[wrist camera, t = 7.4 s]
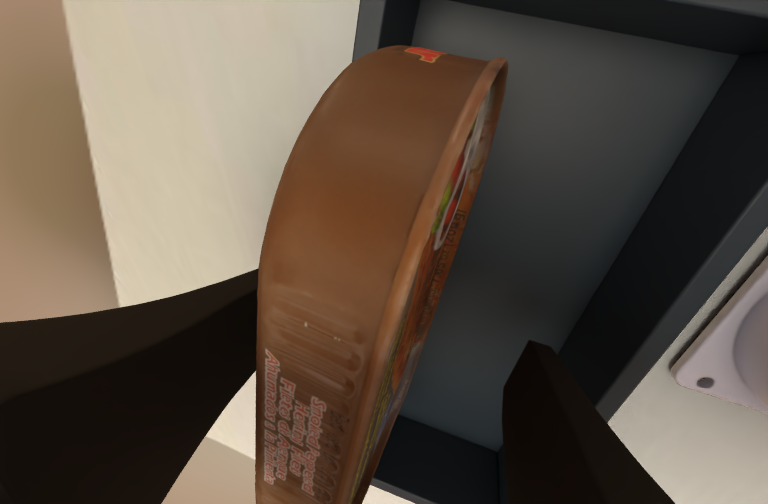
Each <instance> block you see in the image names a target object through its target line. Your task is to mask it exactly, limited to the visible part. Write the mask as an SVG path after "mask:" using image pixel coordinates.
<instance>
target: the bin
mask: <svg viewBox="0 0 768 504" xmlns="http://www.w3.org/2000/svg"><path fill="white" fill-rule="evenodd" d="M396 45H404V46H412V47H421V48H426V49H430V50H434V51H439V52H443V53H448V54H452V55H456V56H461V57H467V58H473V59H478V60H484V61H491V60H493V59H495V58H504V59H506V60H507V61H508V64H509V66H508V67H509V68H508V74H507V79H506V88H505V93H504V98H503V102H502V106H501V112H500V115H499V118H498V122H497V127H496V130H495V134H494V137H493V141H492V144H491V148H490V151H489V154H488V158H487V161H486V164H485V167H484V170H483V172H482V176H481V179H480V182H479V186H478V190H477V192H476V195H475V198H474V201H473V204H472V207H471V210H470V213H469V216H468V219H467V222H466V225H465V228H464V231H463V234H462V236H461V239H460V242H459V245H458V248H457V251H456V254H455V256H454V259H453V262H452V265H451V268H450V271H449V274H448V277H447V279H446V282H445V285H444V288H443V291H442V294H441V297H440V299H439V303H438V306H437V308H436V311H435V314H434V317H433V320H432V323H431V326H430V329H429V331H428V335H427V337H426V340H425V343H424V346H423V349H422V351H421V354H420V356H419V359H418V363H417V366H416V369H415V372H414V374H413V377H412V380H411V383H410V386H409V388H408V391H407V394H406V396H405V399H404V401H403V403H402V406H401V408H400V410H399V413H398V415H397V418H396V420H395V422H394V425H393V427H392V430H391V432H390V435H389V437H388V440H387V443H386V445H385V448H384V450H383V453H382V456H381V458H380V461H379V463H378V466H377V468H376V470H375V473H374V476H373V478H372V481H371V483H370V485H372V486H375V487H377V488H379V489H382V490H384V491H387V492H389V493H391V494H394V495H396V496H399V497H401V498H404V499H406V500H408V501H411V502H413V503H416V504H508V494H507V482H506V470H505V458H504V446H503V433H502V401H503V387H504V385H505V383H506V381H507V380H508V378H509V376H510V374H511V372H512V370H513V368H514V367H515V365H516V363H517V361H518V359H519V357H520V355H521V354H522V352H523V350H524V348H525V346H526V344H527V342H528V341H529V340H532V341H535V342H538V343H542V344H545V345H548V346H551V348H552V349H553V350H554V351H555V353H556V354H557V355H558V357H559V358H560V359H561V361H562V362H563V364H564V365H565V366H566V368H567V369H568V371H569V372H570V374H571V375H572V376H573V378H574V379H575V381H576V382H577V383H578V385H579V386H580V388H581V389H582V390H583V392H584V393H585V395H586V396H587V397H588V399H589V400H590V401H591V403H592V404H593V406H594V407H595V408H596V410H597V411H598V412H599V414H600V415H601V416H602V418H603V419H604V420H605V421H606V423H607V422H608V421H609V420H610V419H611V417H612V416H613V415H614V414H615V412H616V411H617V410H618V409H619V408H620V406H621V405H622V404H623V403H624V401H625V400H626V399H627V398H628V397H629V395H630V394H631V393H632V392H633V390H634V389H635V388H636V387H637V385H638V384H639V383H640V382H641V381H642V379H643V378H644V377H645V376H646V374H647V373H648V372H649V371H650V370H651V368H652V367H653V366H654V365H655V363H656V362H657V361H658V360H659V359H660V357H661V356H662V355H663V354H664V352H665V351H666V350H667V349H668V347H669V346H670V345H671V344H672V343H673V341H674V340H675V339H676V338H677V336H678V335H679V334H680V333H681V332H682V330H683V329H684V328H685V327H686V325H687V324H688V323H689V322H690V320H691V319H692V318H693V317H694V316H695V314H696V313H697V312H698V311H699V309H700V308H701V307H702V306H703V305H704V303H705V302H706V301H707V300H708V298H709V297H710V296H711V295H712V294H713V292H714V291H715V290H716V289H717V287H718V286H719V285H720V284H721V282H722V281H723V280H724V279H725V278H726V276H727V275H728V274H729V273H730V271H731V270H732V269H733V268H734V267H735V265H736V264H737V263H738V262H739V260H740V259H741V258H742V257H743V256H744V254H745V253H746V252H747V251H748V249H749V248H750V247H751V246H752V244H753V243H754V242H755V241H756V240H757V238H758V237H759V236H760V235H761V233H762V232H763V231H764V230H765V229H766V227H767V226H768V0H360V5H359V13H358V21H357V28H356V36H355V43H354V51H353V59H352V62H354V61H355V60H357V59H359V58H360V57H362V56H364V55H366V54H368V53H370V52H372V51H375V50H378V49H381V48H385V47H389V46H396Z"/></svg>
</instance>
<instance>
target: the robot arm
mask: <svg viewBox="0 0 768 504" xmlns="http://www.w3.org/2000/svg"><path fill="white" fill-rule="evenodd" d="M258 272H259V269H256V270H253V271H250V272H248V273H245V274H242V275H239V276H236V277H233V278H231V279H228V280H225V281H222V282H219V283H216V284H212V285H209V286H206V287H203V288H200V289H196V290H193V291H190V292H187V293H183V294H180V295H176V296H172V297H168V298H164V299H160V300H155V301H151V302H147V303H142V304H137V305H132V306H126V307H121V308H116V309H110V310H104V311H98V312H93V313H86V314H79V315H72V316H64V317H56V318H48V319H47V318H46V319H38V320H28V321H17V322H3V323H0V504H161V503H162V502H163V500H164V498H165V497H166V495H167V493H168V492H169V491H170V489H171V487H172V485H173V484H174V483H175V481H176V479H177V478H178V476H179V475H180V473H181V472H182V470H183V469H184V467H185V466H186V464H187V462H188V461H189V460H190V458H191V457H192V455H193V454H194V452H195V450H196V449H197V447H198V446H199V444H200V443H201V441H202V440H203V439H204V437H205V436H206V434H207V433H208V431H209V430H210V428H211V427H212V426H213V424H214V423H215V421H216V420H217V418H218V417H219V415H220V414H221V413H222V411H223V410H224V408H225V407H226V406H227V405H228V403H229V402H230V401H231V399H232V398H233V397H234V396H235V394H236V393H237V392H238V391H239V390H240V389H241V387H242V386H243V385H244V384H245V383H246V381H247V380H248V379H249V378H250V377H251V376H252V374H253V373H254V372H255V371H256V363H257V362H256V354H257V351H256V345H257V303H258V300H257V290H258ZM671 375H672V377H673V379H674V380H675V381H676V383H677V384H679V385H681V386H683V387H686V388H689V389H693V390H696V391H699V392H702V393H705V394H708V395H711V396H714V397H717V398H720V399H723V400H727V401H730V402H733V403H736V404H739V405H742V406H745V407H748V408H751V409H754V410H758V411H761V412H764V413H767V414H768V256H767V257H766V258H765V259H764V260H763V262H762V263H761V264H760V265H759V266H758V267H757V269H756V270H755V271H754V272H753V273H752V274H751V276H750V277H749V278H748V279H747V280H746V281H745V283H744V284H743V285H742V286H741V287H740V288H739V290H738V291H737V292H736V293H735V294H734V295H733V297H732V298H731V299H730V300H729V301H728V302H727V304H726V305H725V306H724V307H723V308H722V309H721V311H720V312H719V313H718V314H717V315H716V317H715V318H714V319H713V320H712V321H711V322H710V324H709V325H708V326H707V327H706V328H705V329H704V331H703V332H702V333H701V334H700V335H699V336H698V338H697V339H696V340H695V341H694V342H693V343H692V345H691V346H690V347H689V348H688V349H687V350H686V352H685V353H684V354H683V355H682V356H681V357H680V359H679V360H678V361H677V362H676V363H675V364H674V366H673V367H672V369H671ZM705 377H707V378H705ZM701 378H705V379H704V380H699V379H701ZM502 433H503V446H504V458H505V470H506V482H507V494H508V504H675V503H674V502H673V500H672V499H671V498H670V497H669V496H668V495H667V494H666V493H665V492H664V490H663V489H662V488H661V487H660V486H659V485H658V484H657V483H656V482H655V481H654V479H653V478H652V477H651V476H650V475H649V474H648V473H647V472H646V470H645V469H644V468H643V467H642V466H641V465H640V463H639V462H638V461H637V460H636V459H635V458H634V456H633V455H632V454H631V453H630V452H629V450H628V449H627V448H626V447H625V445H624V444H623V443H622V442H621V440H620V439H619V438H618V437H617V435H616V434H615V433H614V432H613V430H612V429H611V428H610V427H609V425H608V424H607V423H606V421H605V420H604V419H603V418H602V416H601V415H600V414H599V412H598V411H597V410H596V408H595V407H594V406H593V404H592V403H591V401H590V400H589V399H588V397H587V396H586V395H585V393H584V392H583V390H582V389H581V388H580V386H579V385H578V383H577V382H576V381H575V379H574V378H573V376H572V375H571V374H570V372H569V371H568V369H567V368H566V366H565V365H564V364H563V362H562V361H561V359H560V358H559V357H558V355H557V354H556V353H555V351H554V350H553V349H552V348H551V346H548V345H545V344H542V343H538V342H535V341H532V340H529V341H528V342H527V344H526V346H525V348H524V350H523V352H522V354H521V355H520V357H519V359H518V361H517V363H516V365H515V367H514V368H513V370H512V372H511V374H510V376H509V378H508V380H507V381H506V383H505V385H504V387H503V401H502Z"/></svg>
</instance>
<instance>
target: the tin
mask: <svg viewBox="0 0 768 504" xmlns="http://www.w3.org/2000/svg"><path fill="white" fill-rule="evenodd" d="M508 66H509V64H508V61H507V60H506V59H504V58H495V59H493V60H491V61H484V60H478V59H473V58H467V57H461V56H456V55H452V54H448V53H443V52H439V51H434V50H430V49H426V48H421V47H412V46H404V45H396V46H389V47H385V48H381V49H378V50H375V51H372V52H370V53H368V54H366V55H364V56H362V57H360V58H359V59H357V60H355V61H354V62H352V63H351V64H350V65H349V66H348V67H347V68H346V69H344V70H343V71H342V73H341V74H340V75H339V76H338V77H337V78H336V79H335V81H334V82H333V83H332V84H331V85H330V86H329V88H328V89H327V90H326V91H325V93H324V94H323V95H322V97H321V99H320V100H319V102H318V103H317V105H316V107H315V108H314V110H313V111H312V113H311V115H310V116H309V118H308V120H307V122H306V123H305V125H304V127H303V129H302V131H301V133H300V135H299V137H298V138H297V141H296V143H295V145H294V147H293V149H292V152H291V154H290V156H289V158H288V161H287V163H286V165H285V168H284V171H283V174H282V177H281V180H280V183H279V185H278V188H277V191H276V194H275V198H274V201H273V205H272V208H271V212H270V215H269V219H268V223H267V227H266V232H265V236H264V241H263V245H262V250H261V257H260V263H259V272H258V290H257V300H258V303H257V345H256V351H257V354H256V362H257V363H256V464H255V471H256V475H255V479H256V482H255V491H256V504H362V502H363V500H364V497H365V495H366V493H367V491H368V488H369V486H370V483H371V481H372V478H373V476H374V473H375V470H376V468H377V466H378V463H379V461H380V458H381V456H382V453H383V450H384V448H385V445H386V443H387V440H388V437H389V435H390V432H391V430H392V427H393V425H394V422H395V420H396V418H397V415H398V413H399V410H400V408H401V406H402V403H403V401H404V399H405V396H406V394H407V391H408V388H409V386H410V383H411V380H412V377H413V374H414V372H415V369H416V366H417V363H418V359H419V356H420V354H421V351H422V349H423V346H424V343H425V340H426V337H427V335H428V331H429V329H430V326H431V323H432V320H433V317H434V314H435V311H436V308H437V306H438V303H439V299H440V297H441V294H442V291H443V288H444V285H445V282H446V279H447V277H448V274H449V271H450V268H451V265H452V262H453V259H454V256H455V254H456V251H457V248H458V245H459V242H460V239H461V236H462V234H463V231H464V228H465V225H466V222H467V219H468V216H469V213H470V210H471V207H472V204H473V201H474V198H475V195H476V192H477V190H478V186H479V182H480V179H481V176H482V172H483V170H484V167H485V164H486V161H487V158H488V154H489V151H490V148H491V144H492V141H493V137H494V134H495V130H496V127H497V122H498V118H499V115H500V112H501V106H502V102H503V98H504V93H505V88H506V79H507V74H508V68H509V67H508Z"/></svg>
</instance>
